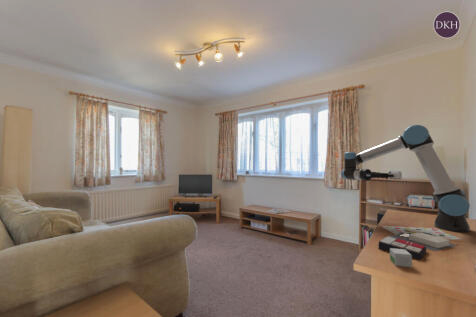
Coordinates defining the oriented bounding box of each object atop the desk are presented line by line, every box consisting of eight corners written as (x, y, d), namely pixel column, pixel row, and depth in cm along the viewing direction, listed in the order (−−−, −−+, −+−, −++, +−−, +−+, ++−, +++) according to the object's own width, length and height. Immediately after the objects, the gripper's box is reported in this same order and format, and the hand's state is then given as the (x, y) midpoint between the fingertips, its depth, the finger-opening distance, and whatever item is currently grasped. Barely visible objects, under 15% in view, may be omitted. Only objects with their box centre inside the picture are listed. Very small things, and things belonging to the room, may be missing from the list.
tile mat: (410, 233, 121) (410, 232, 121) (458, 246, 102) (458, 245, 102) (388, 237, 115) (388, 236, 115) (434, 252, 96) (434, 251, 96)
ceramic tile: (420, 232, 113) (449, 240, 102) (420, 237, 113) (449, 246, 101) (409, 234, 110) (438, 242, 98) (409, 239, 109) (438, 248, 98)
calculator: (420, 252, 88) (378, 239, 100) (419, 262, 88) (378, 249, 100) (426, 245, 95) (386, 234, 107) (426, 255, 95) (386, 243, 107)
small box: (389, 259, 89) (389, 247, 89) (406, 261, 87) (405, 249, 87) (394, 265, 84) (394, 253, 84) (412, 268, 82) (412, 255, 82)
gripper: (370, 179, 148) (408, 182, 126) (356, 180, 143) (393, 183, 121) (369, 168, 148) (407, 169, 126) (355, 169, 143) (393, 169, 122)
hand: (400, 175), depth 124 cm, fingers closed
